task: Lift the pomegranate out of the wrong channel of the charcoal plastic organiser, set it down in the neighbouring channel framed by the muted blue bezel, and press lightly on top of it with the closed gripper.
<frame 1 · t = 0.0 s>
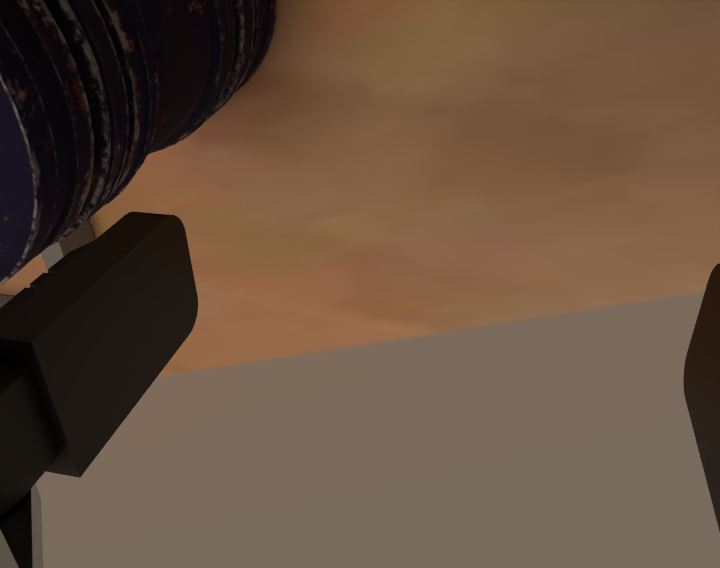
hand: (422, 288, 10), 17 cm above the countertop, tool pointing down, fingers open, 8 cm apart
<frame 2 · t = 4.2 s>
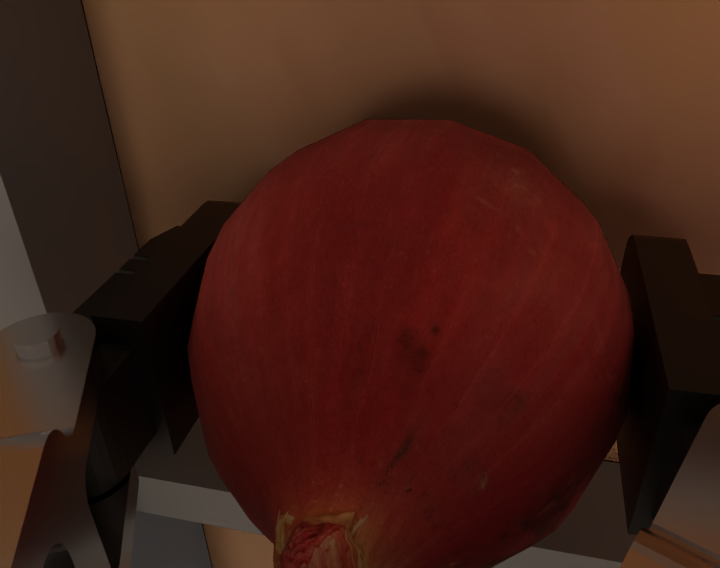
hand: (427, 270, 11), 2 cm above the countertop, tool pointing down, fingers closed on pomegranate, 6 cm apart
pomegranate: (444, 216, 12), on the countertop, touching gripper
channel organiser: (432, 454, 15), on the countertop
when the fingers open (3 cm above the countertop, at t = 9.7 s): pomegranate drops 1 cm, on the countertop.
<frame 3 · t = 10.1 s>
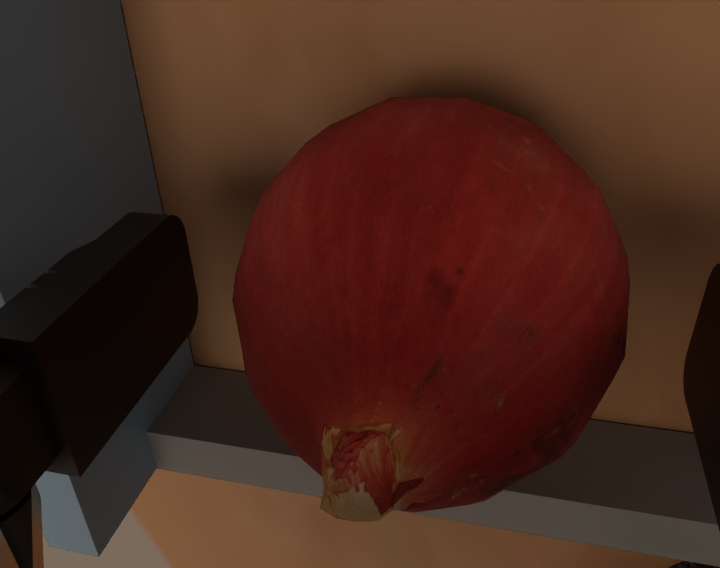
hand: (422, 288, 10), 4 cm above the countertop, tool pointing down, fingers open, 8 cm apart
pomegranate: (456, 192, 13), on the countertop
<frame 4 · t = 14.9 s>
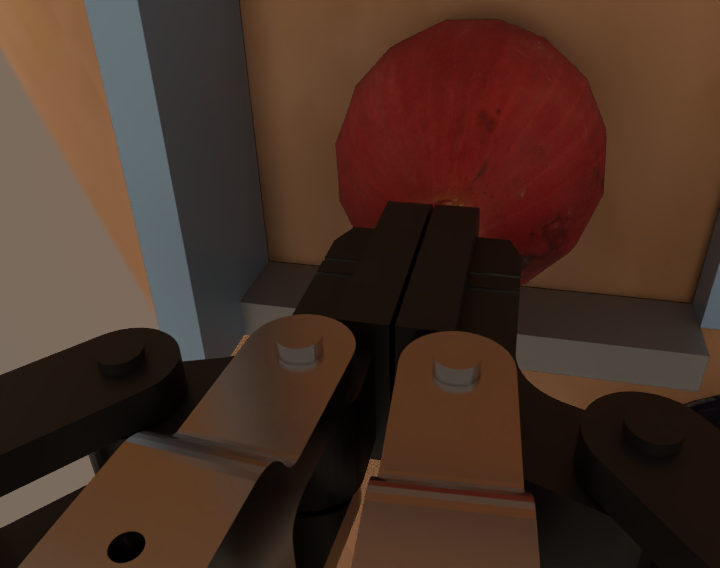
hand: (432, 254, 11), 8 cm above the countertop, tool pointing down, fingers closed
pomegranate: (482, 108, 18), on the countertop, touching gripper
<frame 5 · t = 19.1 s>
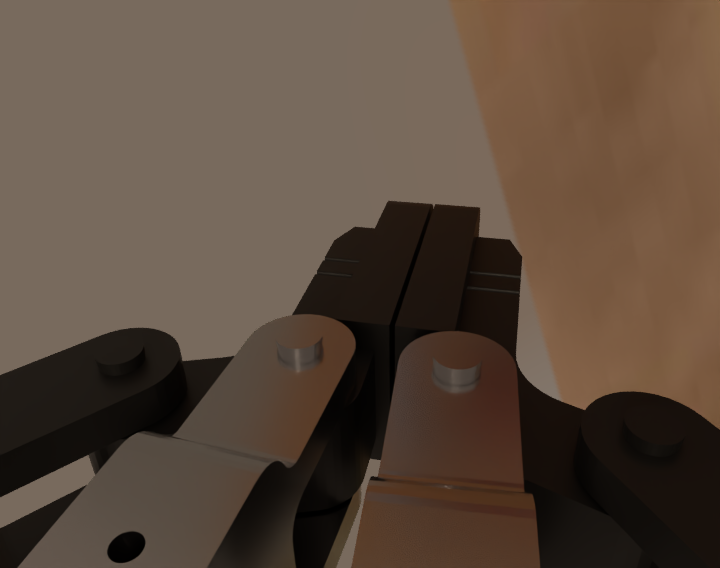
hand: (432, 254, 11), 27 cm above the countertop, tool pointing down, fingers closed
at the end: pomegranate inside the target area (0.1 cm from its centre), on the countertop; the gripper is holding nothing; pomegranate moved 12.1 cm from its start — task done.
